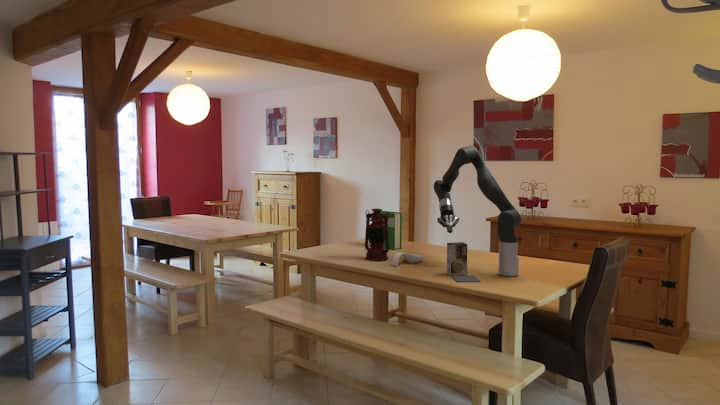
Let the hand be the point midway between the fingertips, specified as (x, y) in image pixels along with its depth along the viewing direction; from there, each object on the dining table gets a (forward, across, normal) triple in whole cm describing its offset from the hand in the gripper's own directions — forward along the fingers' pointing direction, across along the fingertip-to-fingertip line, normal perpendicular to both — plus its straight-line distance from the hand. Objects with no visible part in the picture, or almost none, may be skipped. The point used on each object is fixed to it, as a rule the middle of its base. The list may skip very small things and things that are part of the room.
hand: (450, 232), depth 275 cm
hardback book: (-28, -30, +55) cm, 68 cm away
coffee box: (+26, 0, +1) cm, 26 cm away
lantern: (-1, -39, +28) cm, 49 cm away
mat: (+34, +2, -7) cm, 35 cm away
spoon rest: (+7, -22, +21) cm, 31 cm away
